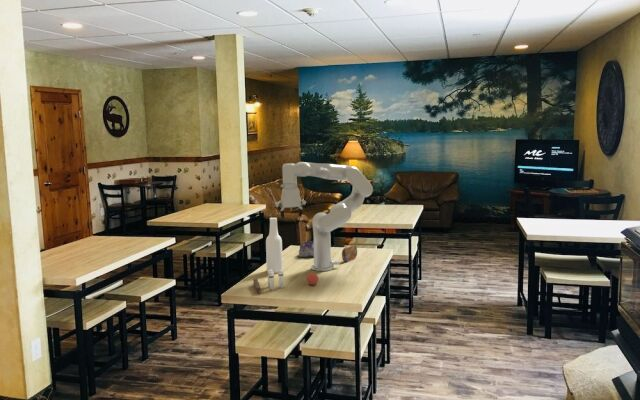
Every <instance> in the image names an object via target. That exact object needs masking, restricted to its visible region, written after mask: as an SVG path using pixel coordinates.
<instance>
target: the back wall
mask: <svg viewBox="0 0 640 400" xmlns="http://www.w3.org/2000/svg"><path fill="white" fill-rule="evenodd" d="M252 281H253V283H252V284H253V288H254V290H255V293H256V295H258V294H259V295H261V294H262V290H261V289H262V288H261V284H260V282H259V279H258V278H253V279H252Z"/></svg>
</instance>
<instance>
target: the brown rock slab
mask: <svg viewBox="0 0 640 400" xmlns="http://www.w3.org/2000/svg"><path fill="white" fill-rule="evenodd" d="M357 256H358V248H357V246H356V245H355V244H351V245H348V246H346V247H344V248H343V249H342V251H341V259H342V261H344V262H348V263H349V262H351V261H353V260H355V259H356V258H357Z"/></svg>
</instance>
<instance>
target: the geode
mask: <svg viewBox="0 0 640 400" xmlns="http://www.w3.org/2000/svg"><path fill="white" fill-rule="evenodd" d="M298 257H300V258H311V257H312V258H314V240H307V241H305V242H304V243H303V244H300V245H299V249H298Z"/></svg>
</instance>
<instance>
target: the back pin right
mask: <svg viewBox="0 0 640 400" xmlns="http://www.w3.org/2000/svg"><path fill="white" fill-rule="evenodd" d="M269 272H273V270H268V271H267V285H268V286H267V287H268V288H269Z"/></svg>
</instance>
